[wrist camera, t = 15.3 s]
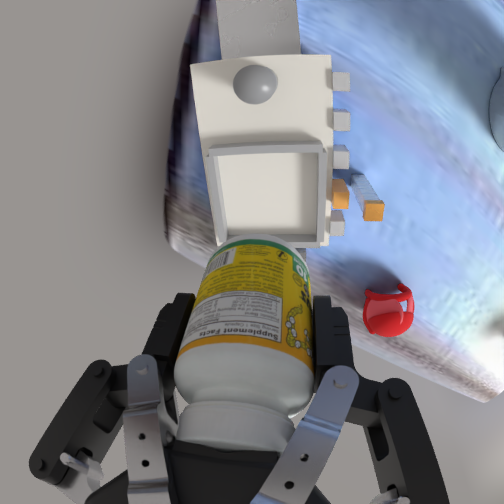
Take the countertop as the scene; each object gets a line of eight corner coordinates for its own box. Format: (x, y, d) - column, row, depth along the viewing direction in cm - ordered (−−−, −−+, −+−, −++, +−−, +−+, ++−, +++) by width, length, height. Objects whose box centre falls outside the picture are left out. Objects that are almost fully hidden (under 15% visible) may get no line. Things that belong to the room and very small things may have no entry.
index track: (218, -2, 16) (196, -21, 11) (362, -4, 14) (384, -23, 9) (245, 243, 30) (235, 283, 25) (358, 243, 28) (369, 283, 23)
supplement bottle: (205, 225, 14) (131, 415, 6) (316, 234, 14) (335, 440, 6) (212, 303, 17) (172, 458, 10) (302, 311, 17) (300, 473, 9)
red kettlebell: (356, 294, 28) (356, 348, 28) (413, 294, 25) (410, 351, 25) (370, 279, 35) (370, 324, 35) (415, 279, 31) (413, 325, 32)
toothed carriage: (196, 64, 19) (166, 64, 14) (343, 57, 17) (363, 52, 12) (221, 236, 28) (205, 278, 23) (339, 236, 26) (349, 279, 21)
